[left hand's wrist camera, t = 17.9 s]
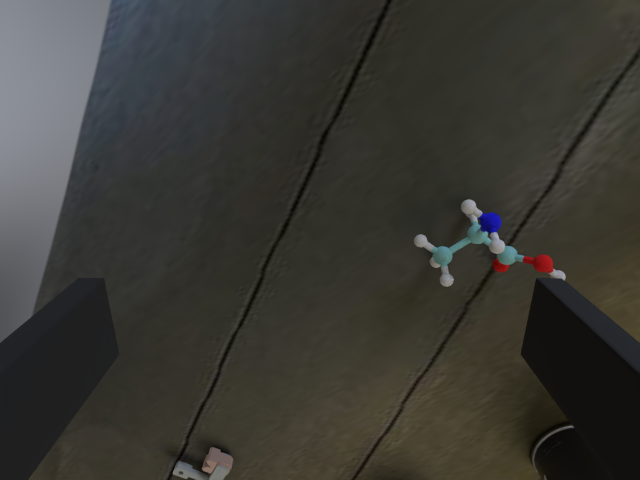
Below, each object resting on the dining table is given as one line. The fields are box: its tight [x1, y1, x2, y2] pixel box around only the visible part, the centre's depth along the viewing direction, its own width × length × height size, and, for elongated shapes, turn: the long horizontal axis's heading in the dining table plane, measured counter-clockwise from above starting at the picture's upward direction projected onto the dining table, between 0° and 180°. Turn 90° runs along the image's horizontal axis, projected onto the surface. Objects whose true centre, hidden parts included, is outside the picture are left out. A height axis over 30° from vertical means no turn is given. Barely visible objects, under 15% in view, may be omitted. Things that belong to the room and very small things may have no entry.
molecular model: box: [414, 200, 566, 287], centre depth 39 cm, size 12×10×10 cm
